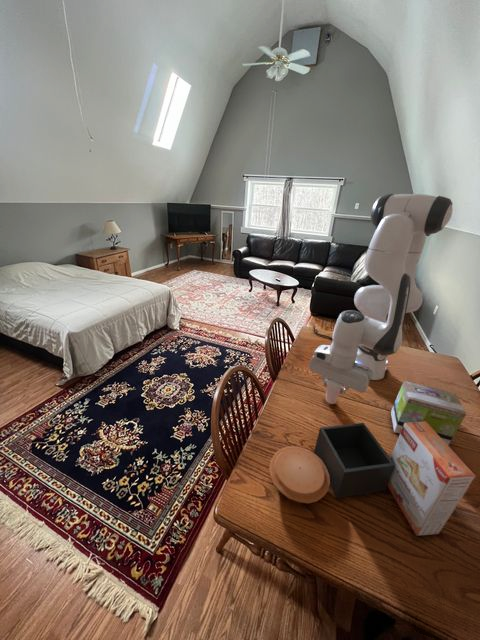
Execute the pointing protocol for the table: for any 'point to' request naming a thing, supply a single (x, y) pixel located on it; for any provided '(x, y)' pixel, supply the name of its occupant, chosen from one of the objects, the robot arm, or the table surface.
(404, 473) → the cracker box
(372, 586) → the table surface
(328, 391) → the smoothie
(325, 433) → the trash bin
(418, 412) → the tea box
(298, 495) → the pie
